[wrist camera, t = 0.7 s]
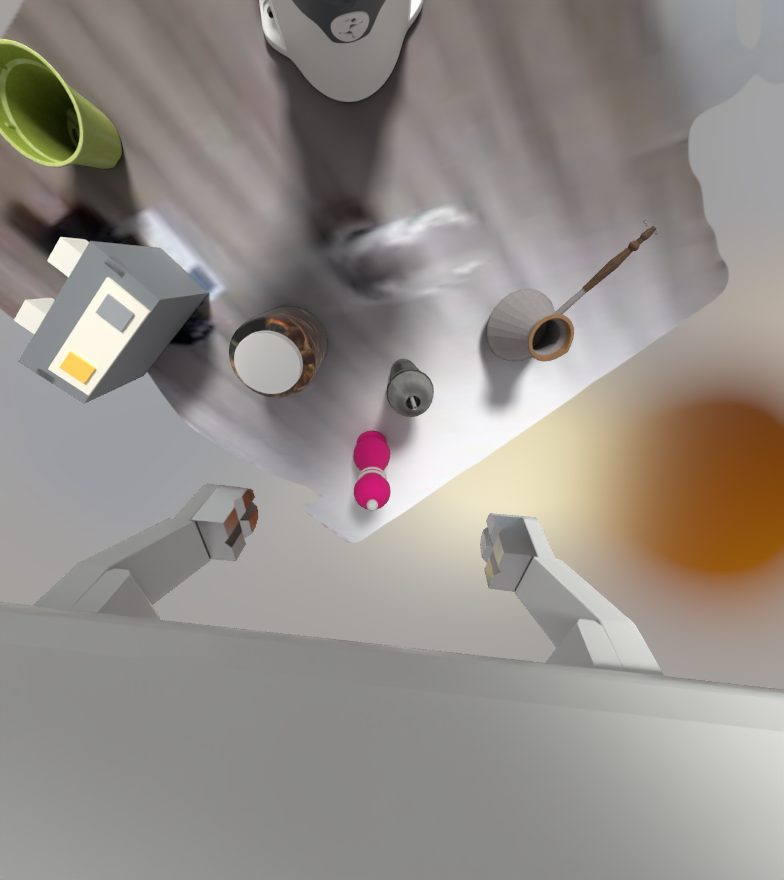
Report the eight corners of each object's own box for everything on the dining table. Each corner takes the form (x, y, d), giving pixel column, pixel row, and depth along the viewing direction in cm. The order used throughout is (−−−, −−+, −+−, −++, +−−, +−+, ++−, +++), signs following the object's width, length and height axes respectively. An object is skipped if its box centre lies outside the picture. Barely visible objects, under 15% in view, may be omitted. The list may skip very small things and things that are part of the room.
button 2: (40, 316, 42) (14, 320, 39) (51, 297, 41) (25, 299, 38) (79, 344, 44) (56, 349, 41) (90, 326, 43) (68, 331, 40)
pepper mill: (348, 448, 64) (339, 515, 47) (365, 422, 61) (363, 483, 44) (377, 463, 66) (380, 532, 49) (395, 438, 64) (405, 502, 46)
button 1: (72, 261, 39) (47, 260, 36) (85, 239, 38) (60, 237, 35) (112, 293, 41) (91, 295, 38) (125, 273, 40) (105, 273, 37)
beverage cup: (390, 394, 59) (399, 447, 41) (378, 358, 55) (381, 400, 38) (426, 382, 58) (451, 431, 41) (416, 345, 54) (438, 381, 37)
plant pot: (73, 182, 41) (7, 163, 34) (37, 82, 36) (-51, 33, 29) (147, 187, 42) (97, 169, 34) (119, 89, 37) (56, 43, 30)
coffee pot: (514, 368, 58) (556, 397, 45) (468, 335, 54) (499, 356, 41) (604, 258, 50) (688, 253, 36) (557, 210, 46) (631, 187, 33)
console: (96, 341, 51) (12, 363, 39) (160, 248, 45) (84, 240, 33) (143, 375, 54) (79, 405, 42) (208, 292, 48) (156, 300, 36)
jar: (277, 288, 49) (243, 295, 36) (339, 333, 53) (329, 354, 40) (246, 349, 53) (205, 375, 40) (306, 386, 57) (286, 421, 44)
